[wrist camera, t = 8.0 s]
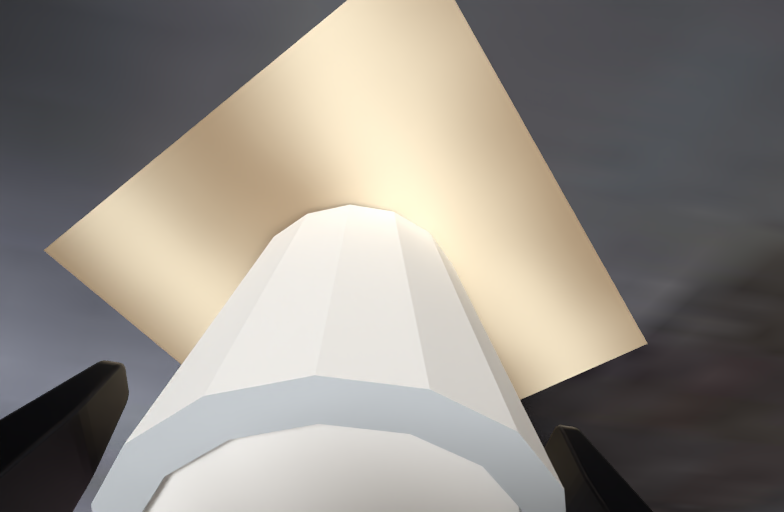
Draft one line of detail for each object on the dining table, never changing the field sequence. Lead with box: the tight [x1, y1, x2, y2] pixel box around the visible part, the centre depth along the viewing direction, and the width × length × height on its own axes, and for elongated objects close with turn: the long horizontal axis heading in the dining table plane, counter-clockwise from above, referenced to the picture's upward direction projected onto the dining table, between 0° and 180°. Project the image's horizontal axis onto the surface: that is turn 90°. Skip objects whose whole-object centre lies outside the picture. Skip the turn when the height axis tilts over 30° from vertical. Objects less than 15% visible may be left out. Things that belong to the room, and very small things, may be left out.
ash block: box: [44, 0, 647, 400], centre depth 15 cm, size 12×12×4 cm
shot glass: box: [91, 205, 566, 512], centre depth 10 cm, size 7×7×7 cm
